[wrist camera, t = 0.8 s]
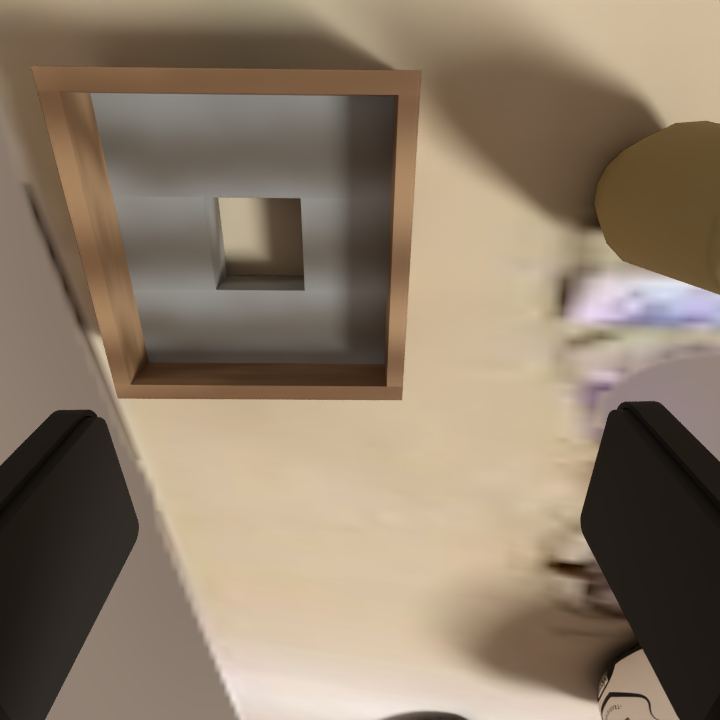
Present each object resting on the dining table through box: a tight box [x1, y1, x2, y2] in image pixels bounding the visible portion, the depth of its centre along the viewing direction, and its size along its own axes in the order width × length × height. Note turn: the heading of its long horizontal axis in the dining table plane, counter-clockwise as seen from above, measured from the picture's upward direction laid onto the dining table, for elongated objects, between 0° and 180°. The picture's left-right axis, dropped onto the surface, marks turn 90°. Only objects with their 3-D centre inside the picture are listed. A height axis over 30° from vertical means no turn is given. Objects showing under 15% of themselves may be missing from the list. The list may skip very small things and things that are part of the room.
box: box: [31, 66, 421, 400], centre depth 29 cm, size 18×18×6 cm
